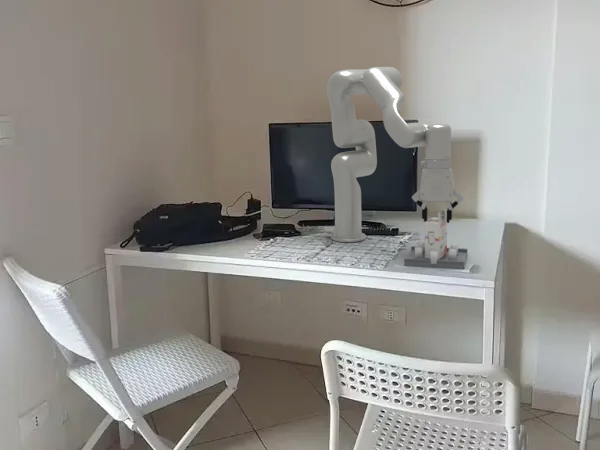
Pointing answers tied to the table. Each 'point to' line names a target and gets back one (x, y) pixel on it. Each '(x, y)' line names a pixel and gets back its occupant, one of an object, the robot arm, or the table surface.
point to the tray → (440, 261)
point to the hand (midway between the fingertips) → (436, 221)
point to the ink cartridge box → (436, 235)
